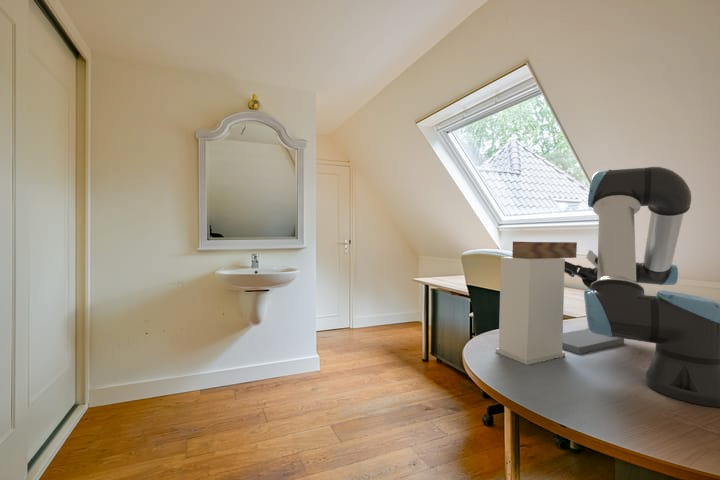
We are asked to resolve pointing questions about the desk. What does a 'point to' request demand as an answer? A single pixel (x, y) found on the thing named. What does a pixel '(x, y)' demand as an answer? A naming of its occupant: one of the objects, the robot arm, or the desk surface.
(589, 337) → the felt mat
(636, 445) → the desk surface
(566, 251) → the walnut bar
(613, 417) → the desk surface
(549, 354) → the stand
